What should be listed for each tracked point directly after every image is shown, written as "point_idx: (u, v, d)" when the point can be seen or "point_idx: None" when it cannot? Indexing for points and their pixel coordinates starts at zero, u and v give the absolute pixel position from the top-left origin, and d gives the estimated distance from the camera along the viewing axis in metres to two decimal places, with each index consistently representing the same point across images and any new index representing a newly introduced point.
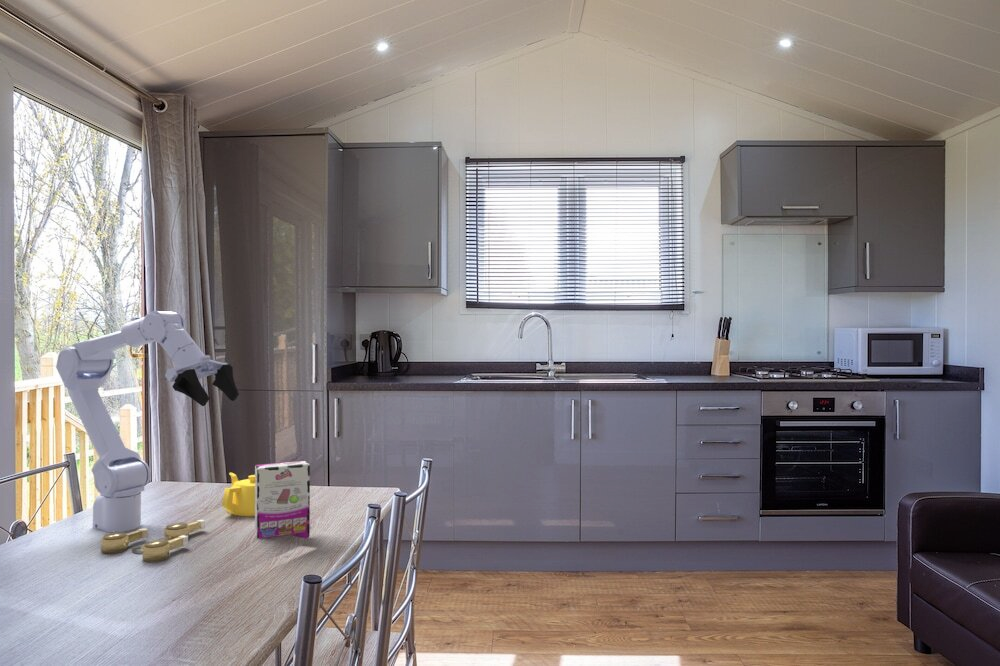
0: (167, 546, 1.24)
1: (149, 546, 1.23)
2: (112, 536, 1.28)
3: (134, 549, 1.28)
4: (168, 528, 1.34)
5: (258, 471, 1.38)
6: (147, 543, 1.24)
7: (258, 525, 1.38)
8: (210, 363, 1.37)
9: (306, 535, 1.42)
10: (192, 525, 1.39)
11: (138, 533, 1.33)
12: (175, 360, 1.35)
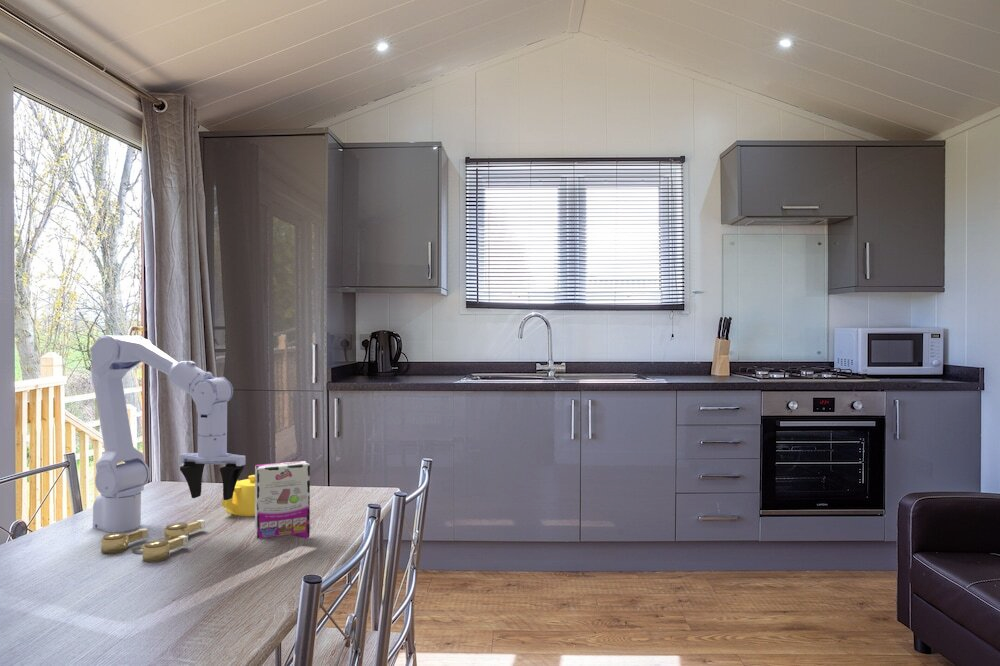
0: (167, 546, 1.24)
1: (149, 546, 1.23)
2: (112, 536, 1.28)
3: (134, 549, 1.28)
4: (168, 528, 1.34)
5: (258, 471, 1.38)
6: (147, 543, 1.24)
7: (258, 525, 1.38)
8: None
9: (306, 535, 1.42)
10: (192, 525, 1.39)
11: (138, 533, 1.33)
12: None
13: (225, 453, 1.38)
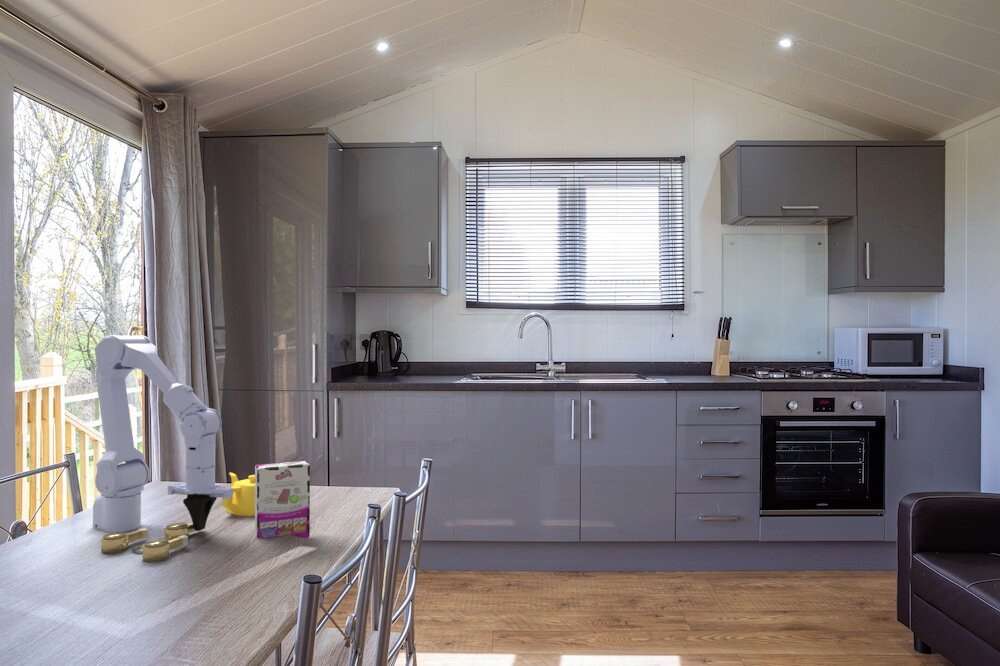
0: (167, 546, 1.24)
1: (149, 546, 1.23)
2: (112, 536, 1.28)
3: (134, 549, 1.28)
4: (168, 528, 1.34)
5: (258, 471, 1.38)
6: (147, 543, 1.24)
7: (258, 525, 1.38)
8: None
9: (306, 535, 1.42)
10: (192, 525, 1.39)
11: (138, 533, 1.33)
12: None
13: (213, 485, 1.39)
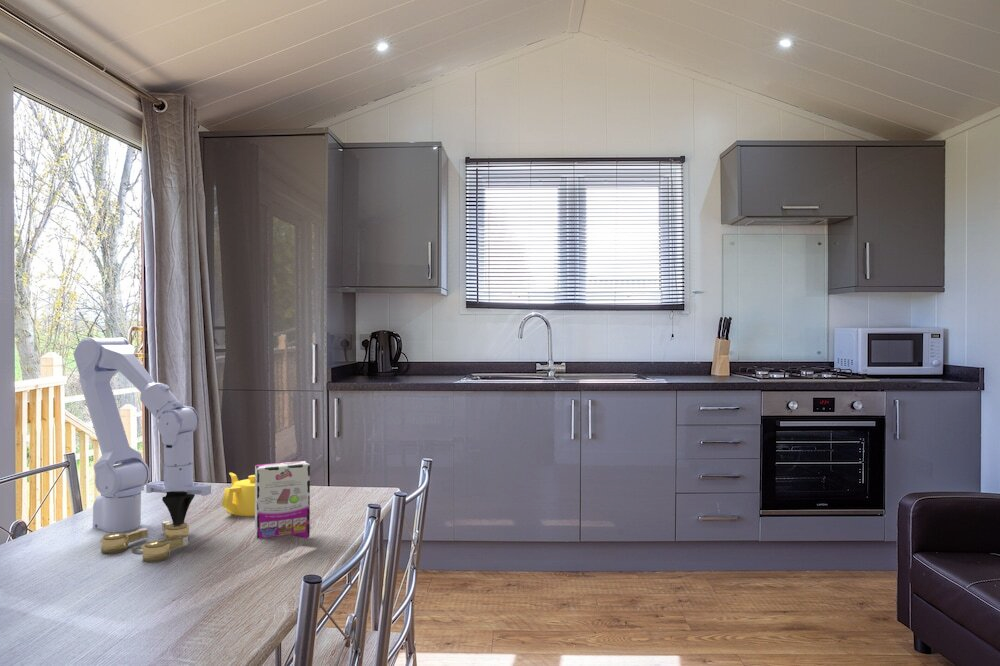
0: (167, 546, 1.24)
1: (149, 546, 1.23)
2: (112, 536, 1.28)
3: (134, 549, 1.28)
4: (179, 528, 1.34)
5: (258, 471, 1.38)
6: (147, 543, 1.24)
7: (258, 525, 1.38)
8: None
9: (306, 535, 1.42)
10: None
11: (138, 533, 1.33)
12: None
13: (191, 482, 1.40)
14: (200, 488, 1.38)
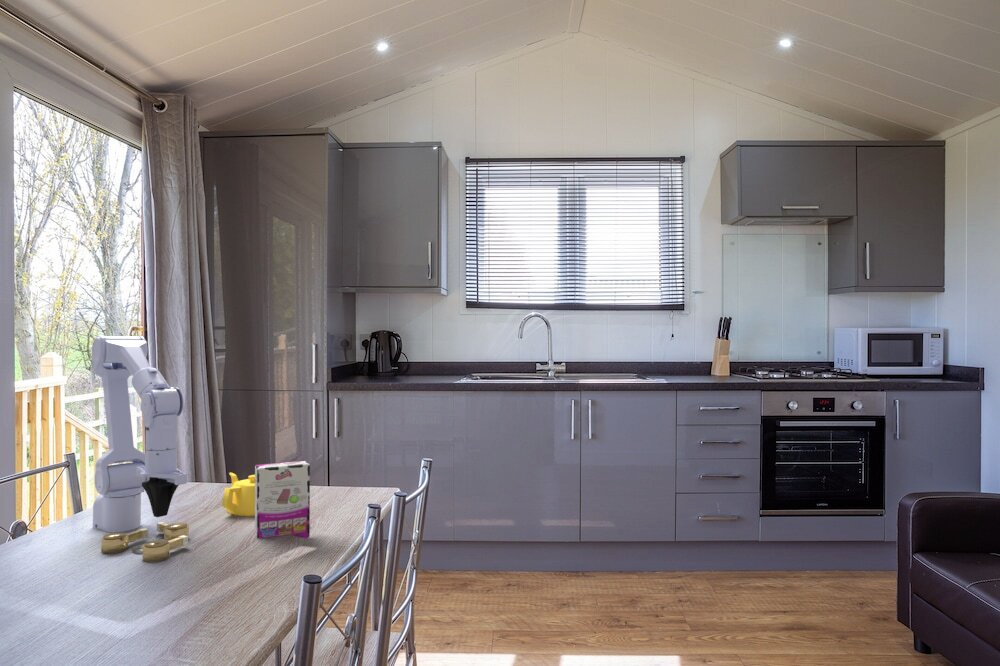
0: (167, 546, 1.24)
1: (149, 546, 1.23)
2: (112, 536, 1.28)
3: (134, 549, 1.28)
4: (181, 527, 1.34)
5: (258, 471, 1.38)
6: (147, 543, 1.24)
7: (258, 525, 1.38)
8: None
9: (306, 535, 1.42)
10: None
11: (138, 533, 1.33)
12: None
13: (171, 469, 1.30)
14: (173, 476, 1.27)
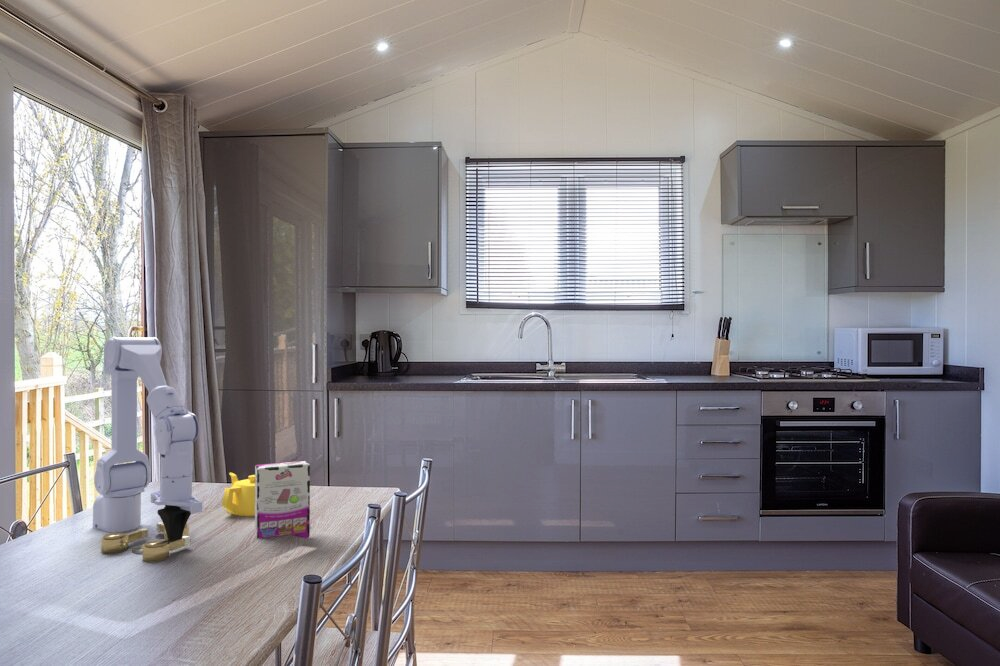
0: (166, 546, 1.24)
1: (148, 546, 1.23)
2: (112, 536, 1.28)
3: (134, 549, 1.28)
4: None
5: (258, 471, 1.38)
6: (147, 543, 1.24)
7: (258, 525, 1.38)
8: None
9: (306, 535, 1.42)
10: None
11: (138, 533, 1.33)
12: None
13: (186, 497, 1.28)
14: (189, 505, 1.25)
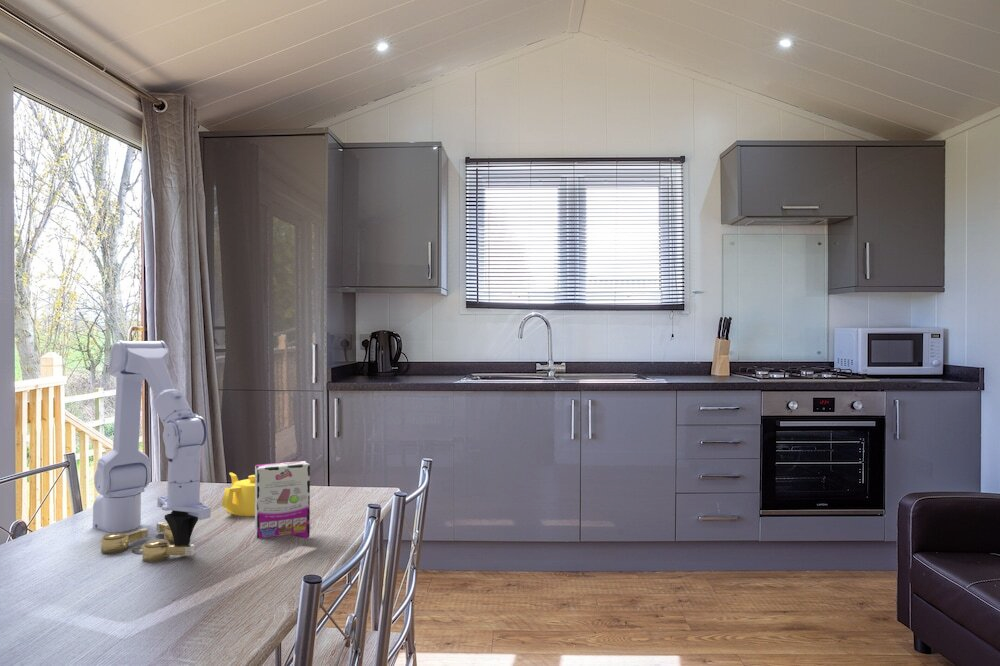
0: (154, 549, 1.22)
1: (144, 544, 1.24)
2: (112, 536, 1.28)
3: (134, 549, 1.28)
4: None
5: (258, 471, 1.38)
6: (152, 540, 1.25)
7: (258, 525, 1.38)
8: None
9: (306, 535, 1.42)
10: None
11: (138, 533, 1.33)
12: None
13: (194, 502, 1.26)
14: (197, 510, 1.22)
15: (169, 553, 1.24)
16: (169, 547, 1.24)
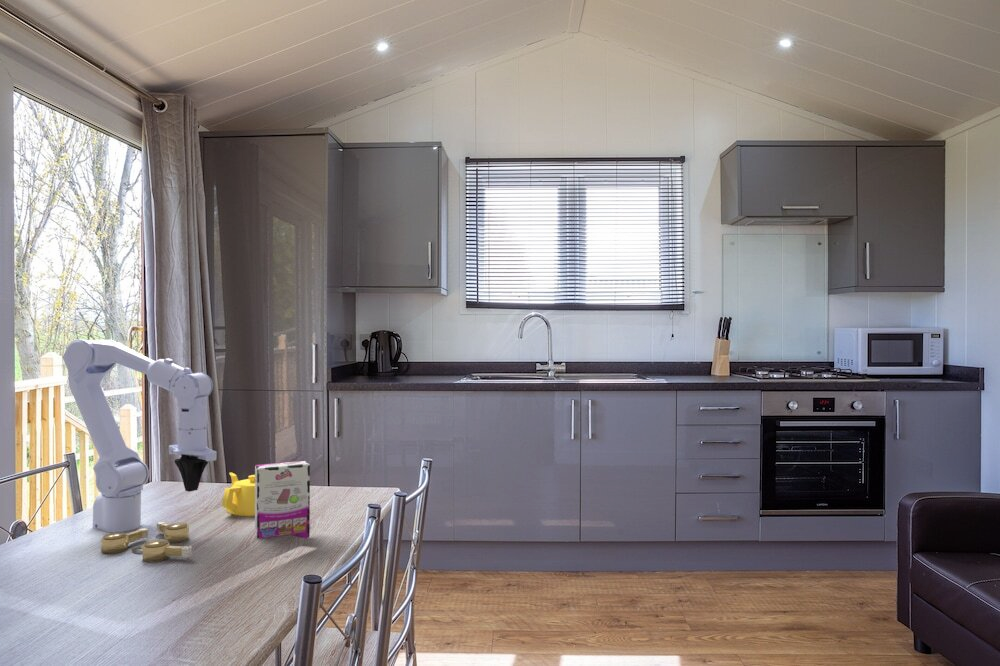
0: (152, 549, 1.22)
1: (145, 543, 1.24)
2: (112, 536, 1.28)
3: (134, 549, 1.28)
4: (181, 527, 1.34)
5: (258, 471, 1.38)
6: (153, 540, 1.26)
7: (258, 525, 1.38)
8: None
9: (306, 535, 1.42)
10: None
11: (138, 533, 1.33)
12: None
13: (202, 447, 1.41)
14: (204, 453, 1.37)
15: (167, 554, 1.24)
16: (167, 548, 1.24)
